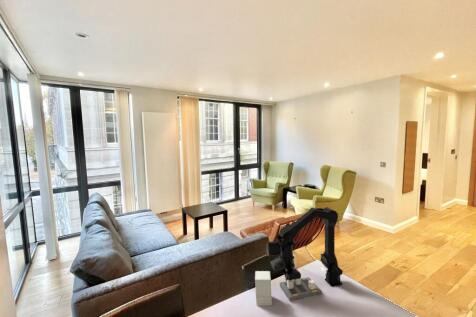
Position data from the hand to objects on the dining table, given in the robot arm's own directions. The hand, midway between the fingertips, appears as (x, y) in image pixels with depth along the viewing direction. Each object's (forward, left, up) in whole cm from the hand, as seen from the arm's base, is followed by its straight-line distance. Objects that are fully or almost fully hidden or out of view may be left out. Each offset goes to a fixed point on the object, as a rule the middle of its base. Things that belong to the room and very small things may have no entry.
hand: (287, 282), depth 119 cm
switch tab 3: (-10, +7, -1) cm, 12 cm away
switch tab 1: (0, +3, -1) cm, 3 cm away
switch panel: (-5, +3, -3) cm, 7 cm away
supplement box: (+15, +5, -3) cm, 16 cm away
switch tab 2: (-5, +1, -1) cm, 5 cm away
